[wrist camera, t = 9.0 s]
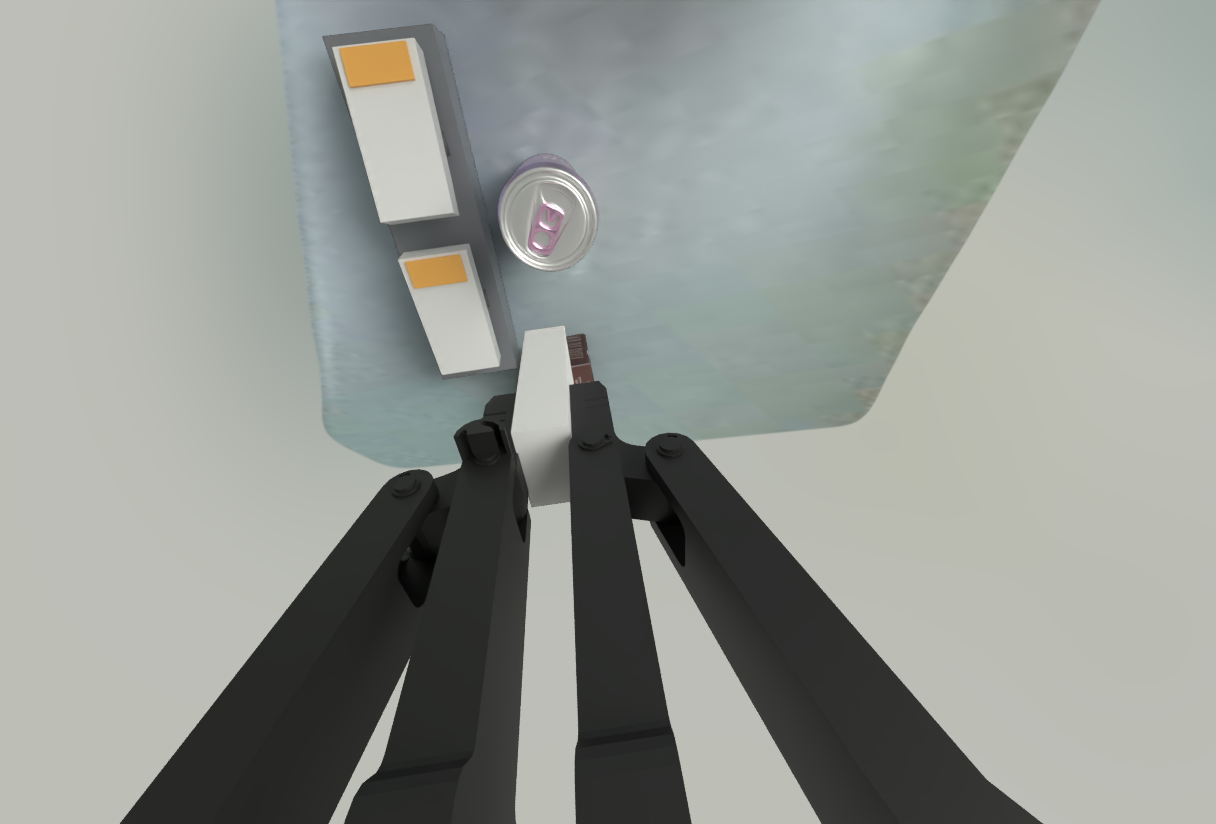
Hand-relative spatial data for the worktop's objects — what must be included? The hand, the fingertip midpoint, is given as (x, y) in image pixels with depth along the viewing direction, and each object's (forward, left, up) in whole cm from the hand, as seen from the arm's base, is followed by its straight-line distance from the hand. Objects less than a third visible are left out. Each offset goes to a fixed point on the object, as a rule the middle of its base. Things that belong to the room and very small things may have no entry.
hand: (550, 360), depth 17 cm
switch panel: (-2, -8, -27) cm, 28 cm away
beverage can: (-3, +1, -27) cm, 27 cm away
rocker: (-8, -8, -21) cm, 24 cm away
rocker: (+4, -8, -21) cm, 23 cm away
